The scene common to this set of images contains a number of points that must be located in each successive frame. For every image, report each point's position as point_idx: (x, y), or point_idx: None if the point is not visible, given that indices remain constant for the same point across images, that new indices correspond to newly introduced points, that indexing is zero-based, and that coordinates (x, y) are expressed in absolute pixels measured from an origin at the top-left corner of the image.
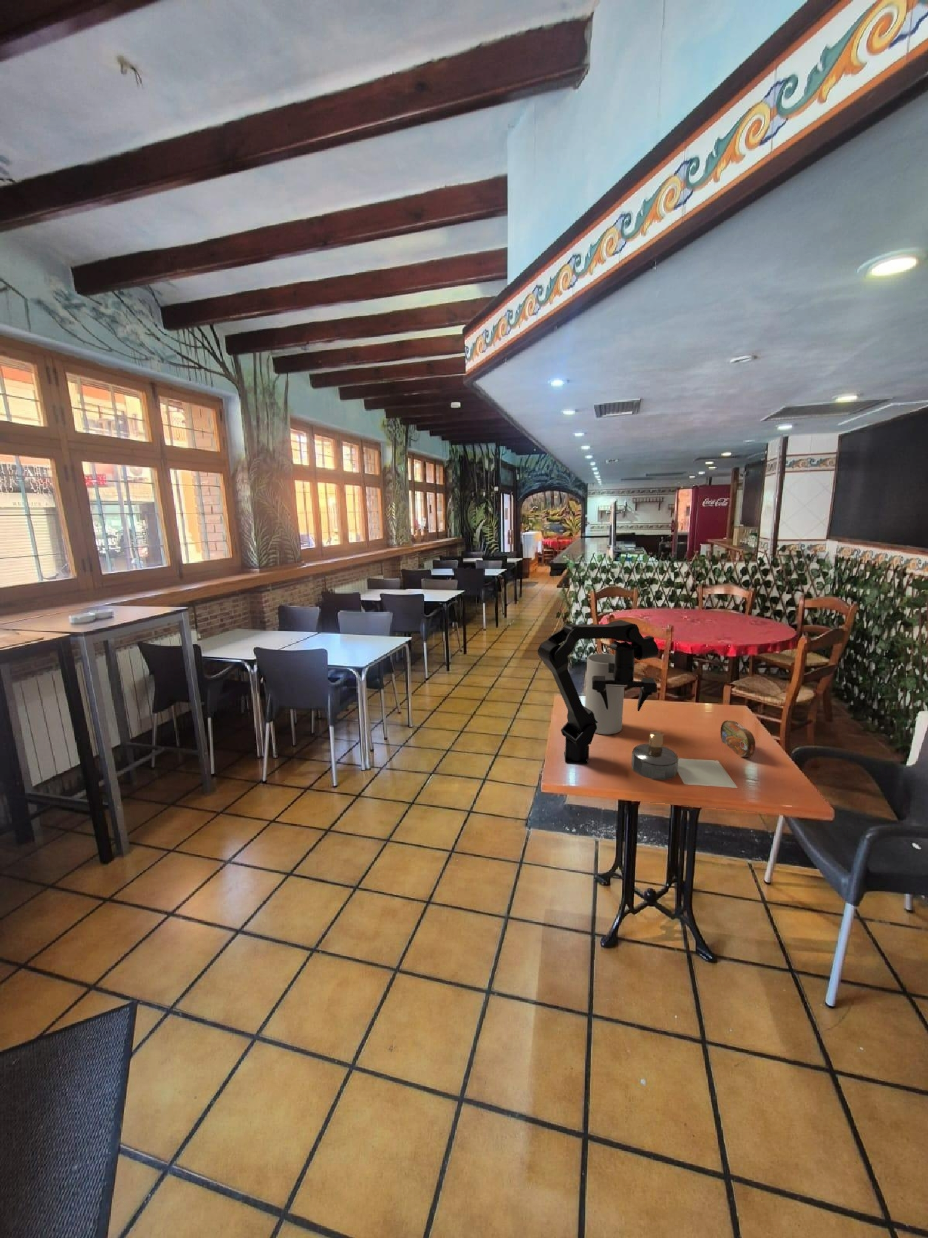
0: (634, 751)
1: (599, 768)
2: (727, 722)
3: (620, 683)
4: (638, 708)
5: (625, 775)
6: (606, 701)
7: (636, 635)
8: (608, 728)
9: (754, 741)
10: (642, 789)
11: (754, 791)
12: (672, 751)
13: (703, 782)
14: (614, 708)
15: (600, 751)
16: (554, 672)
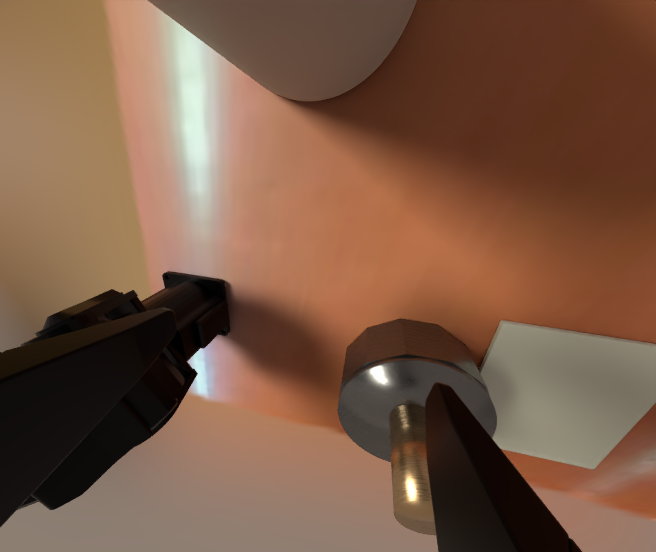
0: (343, 401)
1: (260, 350)
2: None
3: None
4: (429, 447)
5: (319, 383)
6: (75, 433)
7: None
8: (313, 92)
9: None
10: (341, 429)
11: (632, 477)
12: (491, 419)
13: (511, 440)
14: (312, 5)
15: (271, 259)
16: None
